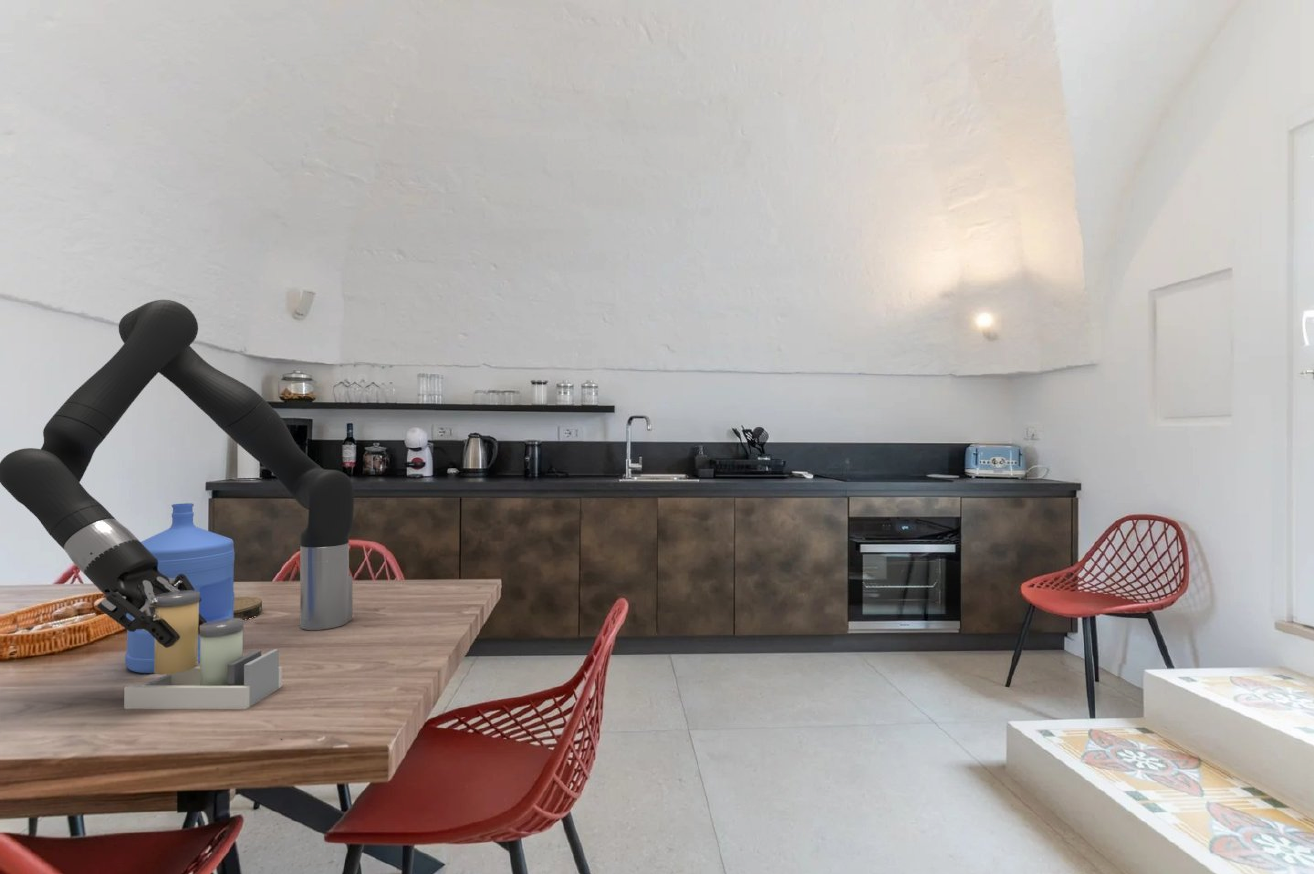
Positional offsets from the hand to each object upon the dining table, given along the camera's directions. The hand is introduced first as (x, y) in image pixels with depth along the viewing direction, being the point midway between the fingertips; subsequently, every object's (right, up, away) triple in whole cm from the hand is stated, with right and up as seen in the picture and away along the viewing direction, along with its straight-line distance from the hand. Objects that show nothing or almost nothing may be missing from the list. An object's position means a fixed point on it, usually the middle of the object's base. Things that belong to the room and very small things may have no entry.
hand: (188, 636), depth 94 cm
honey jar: (-2, -5, 0) cm, 5 cm away
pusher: (+9, -9, 0) cm, 13 cm away
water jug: (-16, -10, +19) cm, 27 cm away
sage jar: (+5, -9, 0) cm, 10 cm away
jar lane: (+3, -10, 0) cm, 10 cm away
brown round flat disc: (-28, -11, +46) cm, 55 cm away
